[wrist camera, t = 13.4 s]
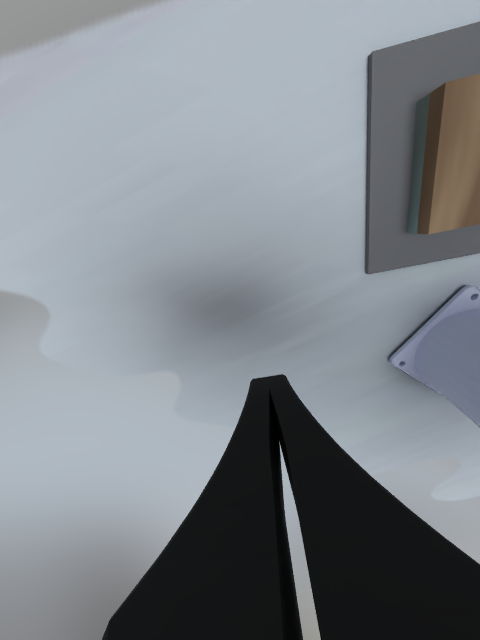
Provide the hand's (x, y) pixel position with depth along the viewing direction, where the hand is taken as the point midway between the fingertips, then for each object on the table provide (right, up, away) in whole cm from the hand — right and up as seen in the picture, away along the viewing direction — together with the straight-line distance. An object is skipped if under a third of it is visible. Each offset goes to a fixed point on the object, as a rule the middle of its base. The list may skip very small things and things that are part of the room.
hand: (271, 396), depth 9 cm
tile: (+9, +12, +4) cm, 16 cm away
